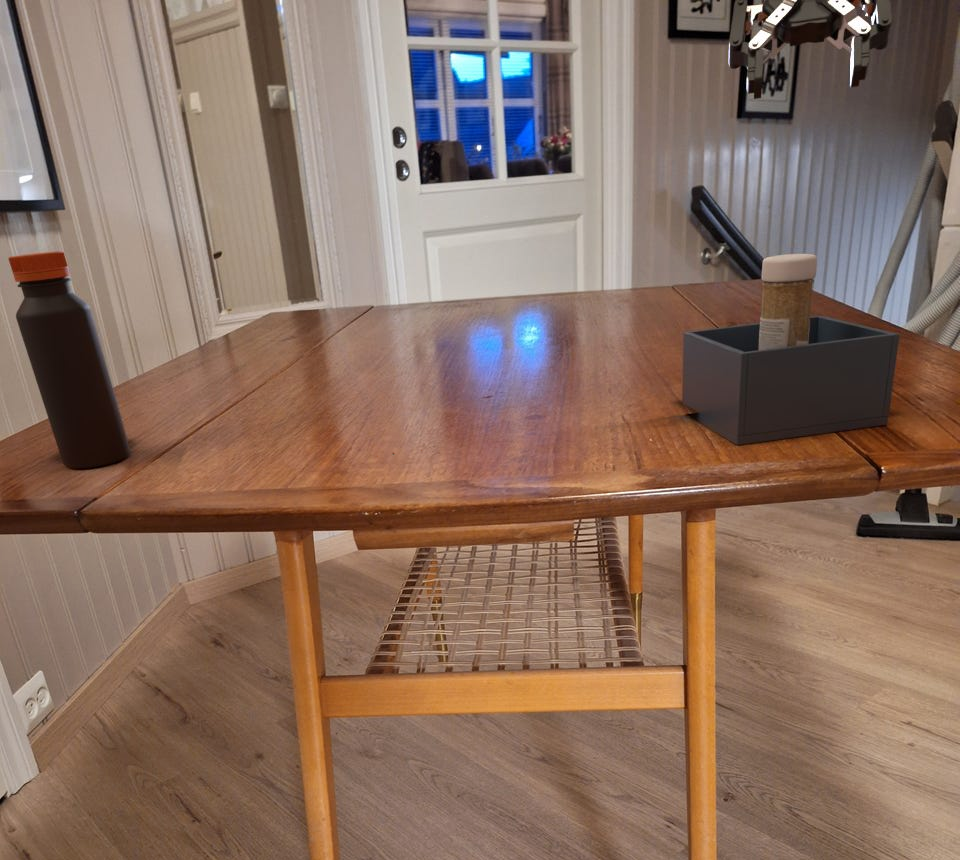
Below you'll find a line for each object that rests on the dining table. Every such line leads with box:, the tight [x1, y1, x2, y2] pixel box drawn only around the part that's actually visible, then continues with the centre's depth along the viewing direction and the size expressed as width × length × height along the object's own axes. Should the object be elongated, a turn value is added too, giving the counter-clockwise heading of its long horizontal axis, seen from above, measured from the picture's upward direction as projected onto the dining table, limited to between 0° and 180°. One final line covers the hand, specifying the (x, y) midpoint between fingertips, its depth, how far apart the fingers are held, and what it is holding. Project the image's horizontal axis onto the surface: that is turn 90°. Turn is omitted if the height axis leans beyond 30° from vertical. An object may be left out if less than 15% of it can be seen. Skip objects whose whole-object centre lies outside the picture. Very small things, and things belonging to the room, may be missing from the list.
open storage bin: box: [681, 315, 900, 446], centre depth 81 cm, size 14×13×8 cm
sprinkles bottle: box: [759, 253, 818, 350], centre depth 79 cm, size 5×5×13 cm
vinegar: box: [7, 250, 131, 470], centre depth 87 cm, size 7×7×20 cm
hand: (806, 85), depth 80 cm, fingers open, 8 cm apart
